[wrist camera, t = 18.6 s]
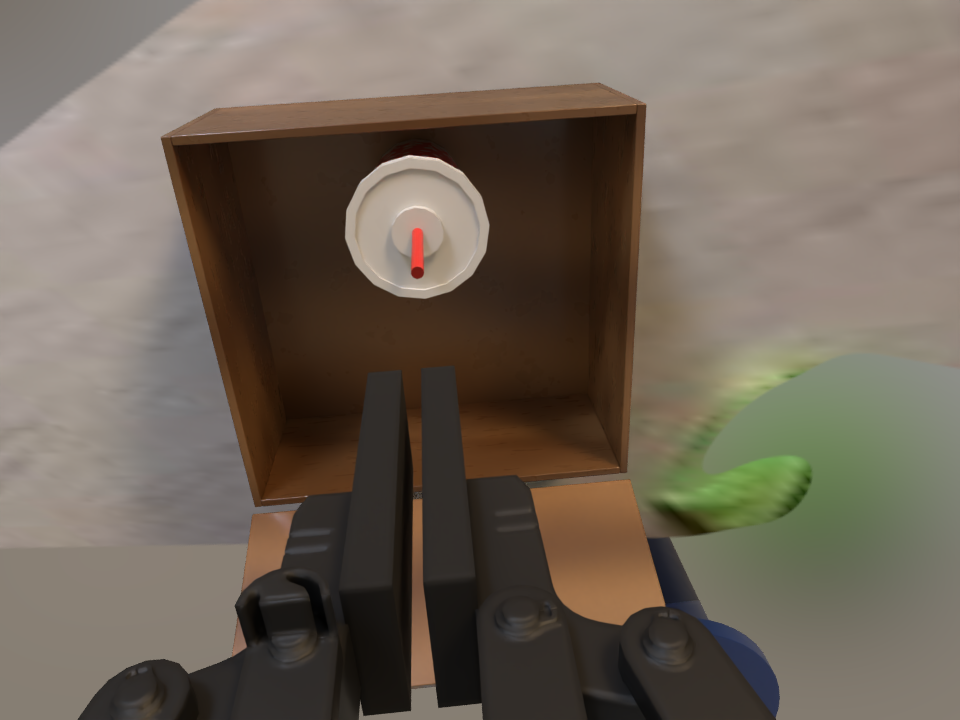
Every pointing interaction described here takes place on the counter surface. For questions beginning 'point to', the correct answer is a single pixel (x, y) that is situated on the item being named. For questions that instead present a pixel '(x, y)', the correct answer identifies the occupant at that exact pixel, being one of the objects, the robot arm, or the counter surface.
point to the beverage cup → (417, 222)
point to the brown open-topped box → (416, 321)
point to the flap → (568, 546)
